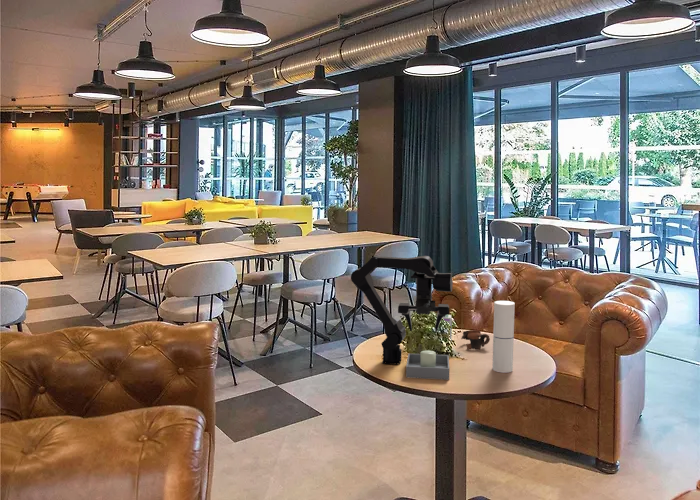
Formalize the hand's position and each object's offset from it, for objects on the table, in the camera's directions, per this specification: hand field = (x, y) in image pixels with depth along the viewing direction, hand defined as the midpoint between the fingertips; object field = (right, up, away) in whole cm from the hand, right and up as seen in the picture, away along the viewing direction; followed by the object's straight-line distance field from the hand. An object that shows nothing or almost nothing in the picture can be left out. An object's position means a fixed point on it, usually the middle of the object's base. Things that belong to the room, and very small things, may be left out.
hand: (423, 331), depth 211 cm
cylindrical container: (+29, -14, -4) cm, 32 cm away
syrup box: (+11, -11, +19) cm, 24 cm away
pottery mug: (+25, -10, +24) cm, 36 cm away
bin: (+1, -14, -5) cm, 15 cm away
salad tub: (+1, -13, -6) cm, 14 cm away
